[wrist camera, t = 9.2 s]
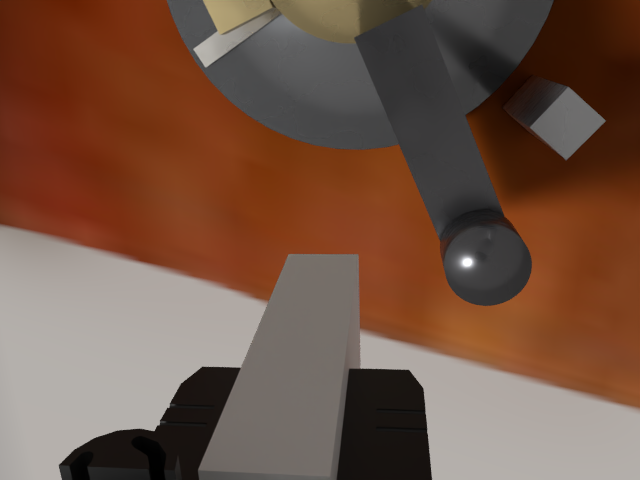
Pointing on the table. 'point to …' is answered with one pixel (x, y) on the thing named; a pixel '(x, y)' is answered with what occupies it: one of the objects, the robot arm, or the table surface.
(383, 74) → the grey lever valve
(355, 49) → the post plate
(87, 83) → the table surface
